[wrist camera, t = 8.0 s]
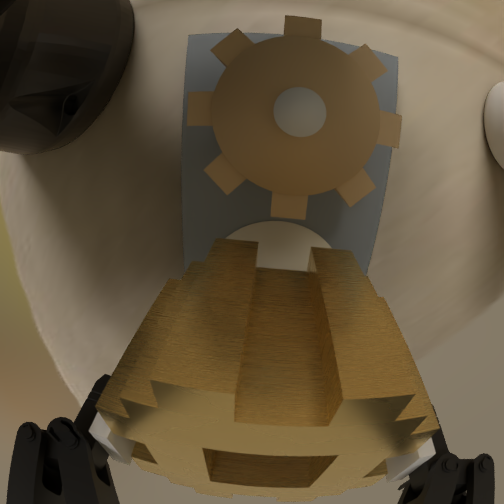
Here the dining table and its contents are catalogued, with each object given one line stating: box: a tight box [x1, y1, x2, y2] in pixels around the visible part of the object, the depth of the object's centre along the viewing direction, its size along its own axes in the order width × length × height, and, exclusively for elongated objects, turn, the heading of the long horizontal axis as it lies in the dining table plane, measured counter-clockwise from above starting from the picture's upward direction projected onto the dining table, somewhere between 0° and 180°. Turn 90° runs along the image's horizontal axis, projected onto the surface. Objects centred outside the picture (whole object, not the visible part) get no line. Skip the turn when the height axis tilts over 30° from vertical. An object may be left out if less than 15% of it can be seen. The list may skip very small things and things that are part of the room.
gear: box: [95, 238, 440, 502], centre depth 11 cm, size 10×10×8 cm
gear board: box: [181, 15, 402, 276], centre depth 14 cm, size 12×20×7 cm, turn 176°
